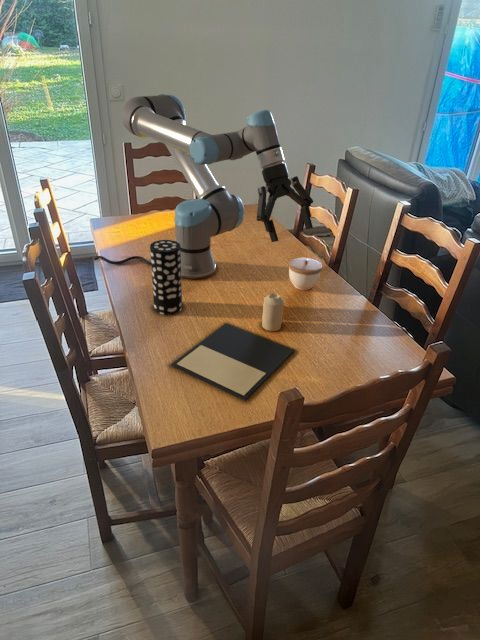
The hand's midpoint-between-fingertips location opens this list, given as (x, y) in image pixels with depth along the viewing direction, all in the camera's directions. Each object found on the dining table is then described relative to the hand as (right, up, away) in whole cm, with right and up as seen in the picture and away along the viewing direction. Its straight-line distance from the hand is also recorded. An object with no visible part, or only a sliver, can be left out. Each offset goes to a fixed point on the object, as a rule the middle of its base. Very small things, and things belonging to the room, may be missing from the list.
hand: (292, 235), depth 144 cm
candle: (-7, -28, -10) cm, 31 cm away
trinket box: (+5, -15, +12) cm, 20 cm away
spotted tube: (-38, -23, -4) cm, 44 cm away
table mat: (-18, -36, -24) cm, 47 cm away
